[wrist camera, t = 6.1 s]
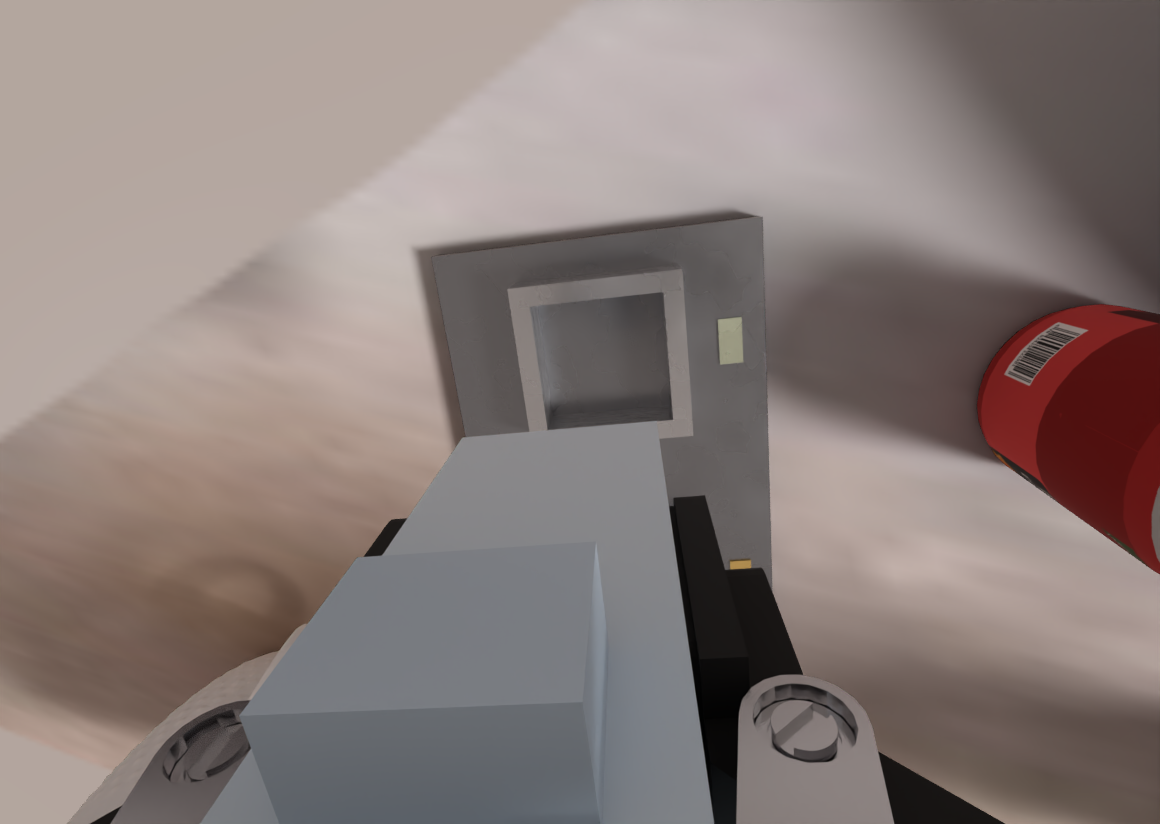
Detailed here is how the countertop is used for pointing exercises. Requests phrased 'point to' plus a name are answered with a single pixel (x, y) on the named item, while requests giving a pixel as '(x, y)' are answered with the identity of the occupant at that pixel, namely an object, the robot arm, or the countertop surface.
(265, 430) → the countertop surface
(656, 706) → the plug
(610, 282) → the panel
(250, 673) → the mug
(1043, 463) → the canned food
